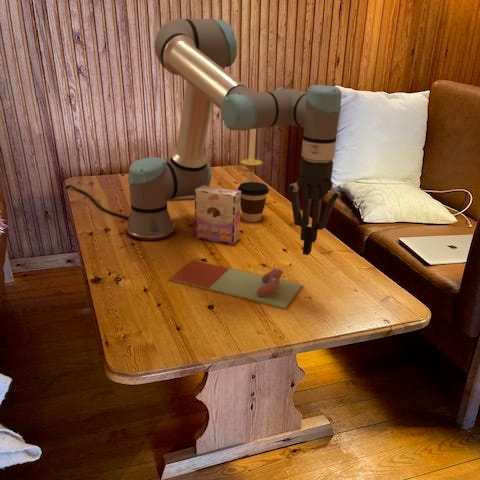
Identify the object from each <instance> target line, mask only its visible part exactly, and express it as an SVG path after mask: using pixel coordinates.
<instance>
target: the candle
mask: <svg viewBox="0 0 480 480" xmlns="http://www.w3.org/2000/svg"><path fill="white" fill-rule="evenodd" d="M256 135H257V129H249V147H248V158H242V159H240V160H239V163H240V164H241V165H243V166H247V175H246V182H255V167H258V166H262V165H263V164H264V162H263V160H261V159H256V158H255V157H256V155H255V153H256V139H257V138H256V137H257V136H256Z"/></svg>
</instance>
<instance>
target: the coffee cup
mask: <svg viewBox="0 0 480 480" xmlns="http://www.w3.org/2000/svg"><path fill="white" fill-rule="evenodd" d="M237 191H241V205H240V212H241V217H242V219H243V220H244V221H245V222H249V223H257V222H260V221H261V219H262V216H263V213H264V208H265V205H266V200H267V194H269V193H270V189H269V187H268V185H267V184H265V183H262V182H259V181H258V182H257V181H254V182H247V181H246V182H242V183H240V184H239V185H238V187H237Z"/></svg>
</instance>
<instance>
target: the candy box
mask: <svg viewBox="0 0 480 480" xmlns="http://www.w3.org/2000/svg"><path fill="white" fill-rule="evenodd" d="M240 228H241V191H238V189H237V190H236V189H230V188H223V187H217V186H210V185H209V186H204V185H201V186H200V187H198V188H197V189H195V199H194V238H195V239H199V240H205V241H210V242H215V243H221V244H227V245H231V246H234V245H235V244H236V243H237V242H238V241H239V240H240V231H241V229H240Z"/></svg>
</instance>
